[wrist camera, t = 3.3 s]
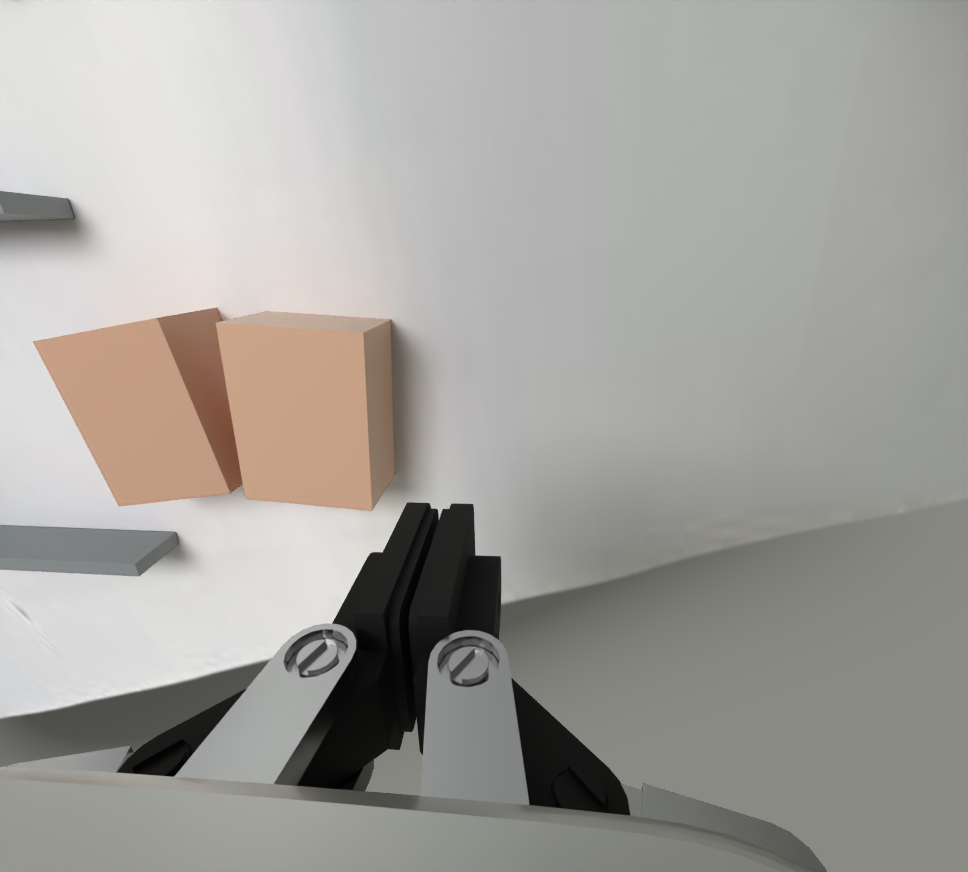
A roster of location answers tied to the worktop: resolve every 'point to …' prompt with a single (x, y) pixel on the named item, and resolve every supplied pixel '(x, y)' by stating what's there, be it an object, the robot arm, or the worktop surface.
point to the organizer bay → (73, 545)
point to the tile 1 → (151, 405)
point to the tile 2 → (311, 406)
